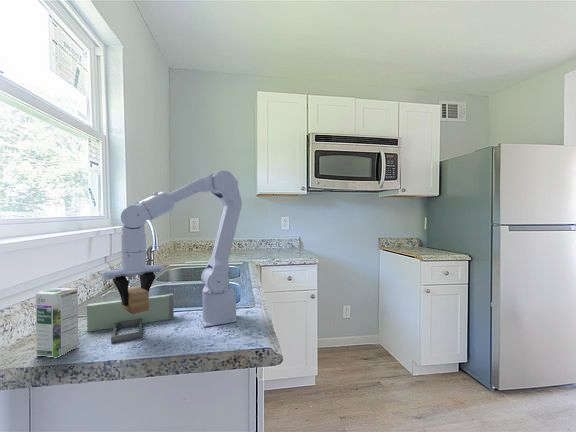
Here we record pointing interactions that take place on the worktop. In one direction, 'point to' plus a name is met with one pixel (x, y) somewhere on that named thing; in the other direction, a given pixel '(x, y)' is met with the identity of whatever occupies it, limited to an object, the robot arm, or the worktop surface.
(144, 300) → the bar
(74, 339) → the syrup box
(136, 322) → the socket
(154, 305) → the door panel
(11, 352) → the worktop surface
